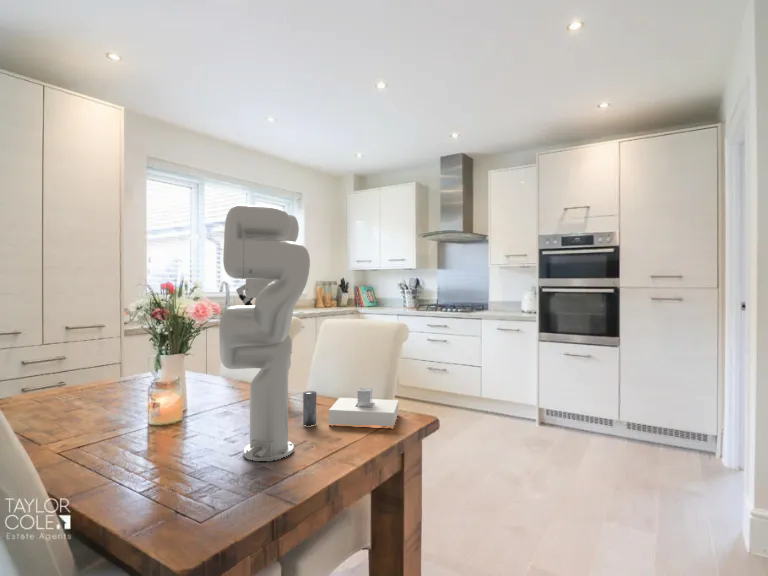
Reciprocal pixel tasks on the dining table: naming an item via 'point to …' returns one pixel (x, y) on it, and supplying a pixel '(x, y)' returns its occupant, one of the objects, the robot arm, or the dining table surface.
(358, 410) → the block
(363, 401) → the square peg
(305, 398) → the round peg
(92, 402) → the dining table surface
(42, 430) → the dining table surface
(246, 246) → the robot arm
